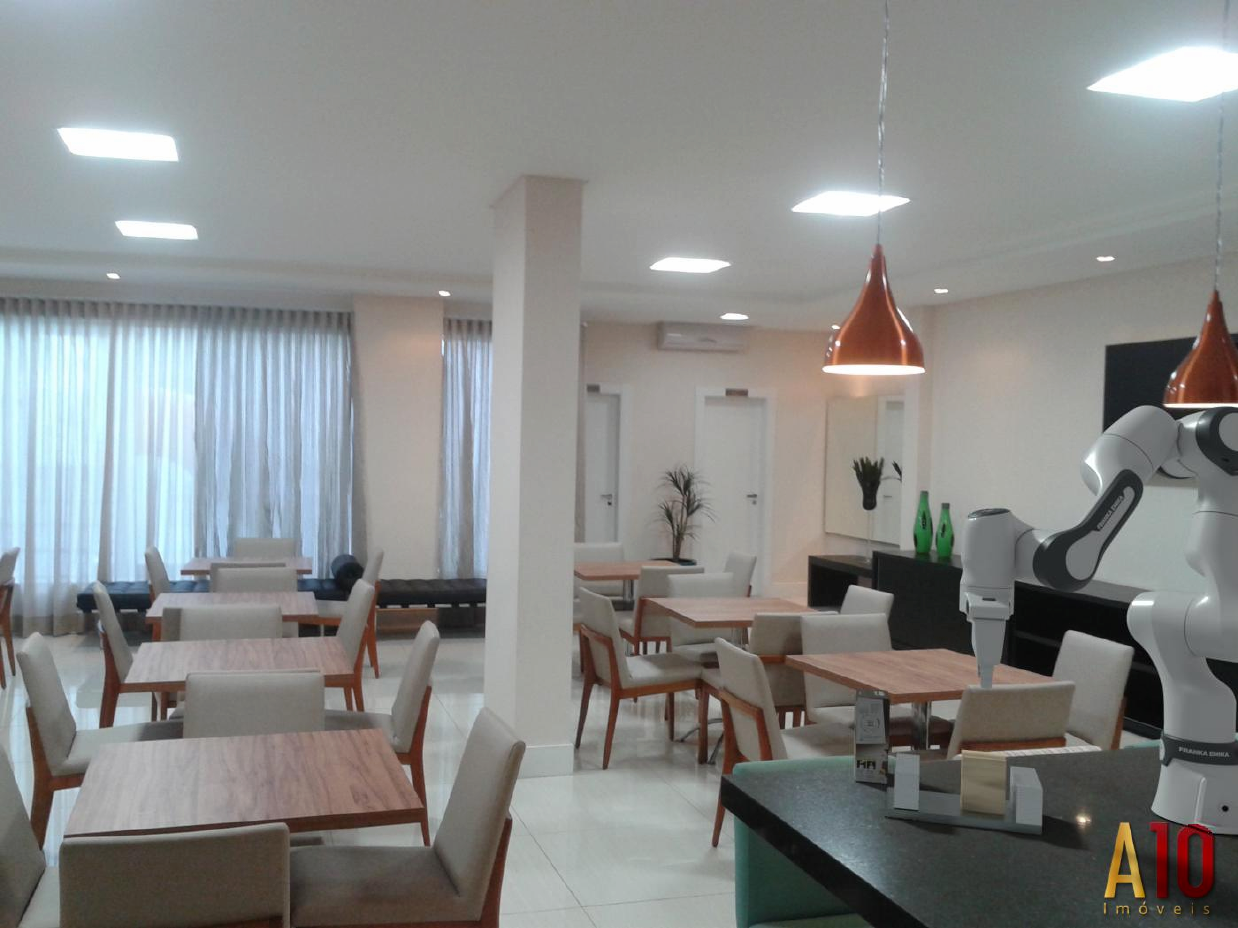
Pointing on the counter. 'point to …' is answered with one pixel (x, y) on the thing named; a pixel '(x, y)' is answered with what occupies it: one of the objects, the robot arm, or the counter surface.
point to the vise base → (946, 809)
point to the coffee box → (871, 735)
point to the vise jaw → (906, 781)
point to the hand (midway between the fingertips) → (984, 682)
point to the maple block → (983, 782)
